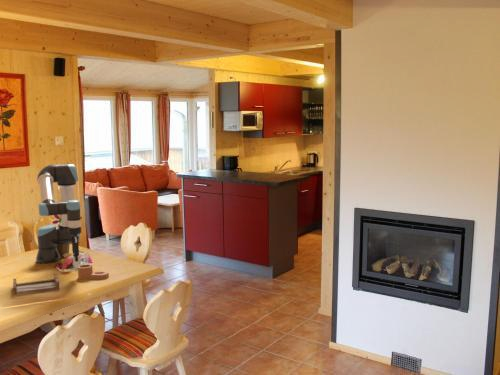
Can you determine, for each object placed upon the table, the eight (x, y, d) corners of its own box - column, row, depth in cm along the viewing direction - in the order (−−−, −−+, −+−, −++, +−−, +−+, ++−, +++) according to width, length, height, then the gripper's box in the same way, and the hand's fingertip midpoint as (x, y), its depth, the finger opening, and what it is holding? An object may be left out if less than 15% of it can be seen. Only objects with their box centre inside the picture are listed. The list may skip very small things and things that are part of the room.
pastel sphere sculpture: (49, 266, 323) (48, 252, 322) (84, 259, 338) (84, 246, 337) (64, 274, 304) (63, 260, 303) (100, 267, 319) (100, 253, 318)
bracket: (76, 279, 294) (75, 268, 293) (81, 275, 302) (80, 264, 301) (106, 279, 293) (105, 268, 292) (110, 275, 301) (110, 264, 300)
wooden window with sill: (13, 286, 281) (13, 278, 280) (57, 281, 290) (56, 273, 290) (13, 296, 265) (13, 287, 265) (59, 289, 275) (59, 281, 274)
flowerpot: (74, 252, 356) (72, 210, 352) (68, 257, 342) (66, 214, 338) (54, 252, 355) (51, 211, 351) (47, 257, 341) (44, 214, 337)
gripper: (66, 224, 298) (68, 261, 301) (69, 230, 282) (71, 270, 285) (79, 223, 301) (81, 260, 304) (82, 229, 285) (84, 268, 288)
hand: (76, 265), depth 295 cm, fingers open, 5 cm apart
